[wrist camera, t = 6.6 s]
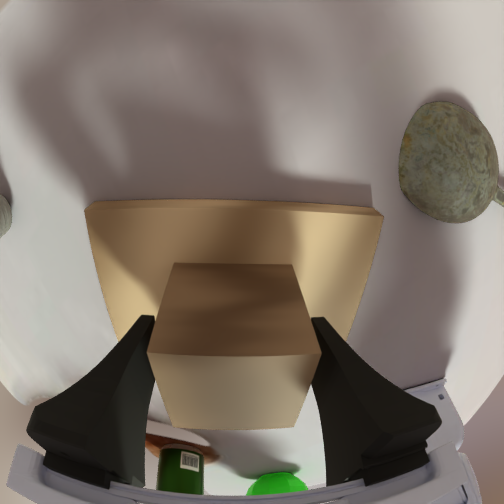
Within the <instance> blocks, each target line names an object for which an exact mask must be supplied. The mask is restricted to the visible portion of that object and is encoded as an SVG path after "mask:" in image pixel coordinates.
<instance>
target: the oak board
mask: <svg viewBox="0 0 504 504" xmlns="http://www.w3.org/2000/svg"><path fill="white" fill-rule="evenodd" d="M84 212H85V218H86V223H87V229H88V234H89V239H90V244H91V248H92V253H93V257H94V262H95V266H96V270H97V274H98V278H99V281H100V285H101V289H102V292H103V296H104V299H105V303H106V306H107V309H108V312H109V316H110V319H111V322H112V325H113V328H114V331H115V333H116V336H117V339H118V342H119V341H120V340H121V339H122V338H123V336H124V335H125V334H126V333H127V332H128V330H129V329H130V328H131V327H132V325H133V324H134V323H135V322H136V320H137V319H138V318H139V317H140V316H141V315H154V317H155V321H156V318H157V314H158V311H159V308H160V304H161V301H162V298H163V295H164V291H165V288H166V285H167V282H168V279H169V276H170V273H171V270H172V267H173V264H174V262H176V263H226V264H292V266H293V269H294V271H295V274H296V277H297V280H298V283H299V286H300V289H301V292H302V295H303V298H304V301H305V304H306V307H307V310H308V313H309V316H310V319H311V317H325V318H326V320H327V321H328V322H329V323H330V324H331V325H332V327H333V328H334V329H335V330H336V331H337V333H338V334H339V335H340V336H341V337H342V338H343V339H344V341H345V342H346V340H347V337H348V334H349V332H350V329H351V326H352V324H353V321H354V318H355V315H356V312H357V309H358V306H359V303H360V300H361V297H362V294H363V291H364V288H365V285H366V282H367V278H368V275H369V272H370V268H371V265H372V261H373V258H374V254H375V251H376V247H377V243H378V239H379V235H380V231H381V227H382V223H383V219H384V216H383V215H381V214H380V213H379V212H378V211H377V210H375V209H374V208H369V207H358V206H346V205H332V204H317V203H300V202H281V201H255V200H212V199H161V200H119V201H95V202H94V203H92V204H91V205H90V206H89V207H87V208H86V209H85V210H84Z"/></svg>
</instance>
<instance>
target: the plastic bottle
mask: <svg viewBox="0 0 504 504" xmlns="http://www.w3.org/2000/svg"><path fill="white" fill-rule="evenodd" d="M304 490H308V488H307V486H306V485H305V483H304V482H302V481H301V480H300V479H299V478H297V477H295V476H293V475H292V474H291V473H287V472H279V473H270V474H266V475H262V476H261V477H259V479H258V480H257V481H256V482H255V483H254V484H252V485H251V487H250V488H249V489H248V492H247V494H246V496H249V495H268V494H280V493H289V492H297V491H304Z"/></svg>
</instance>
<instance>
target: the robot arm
mask: <svg viewBox="0 0 504 504" xmlns="http://www.w3.org/2000/svg"><path fill="white" fill-rule="evenodd" d="M311 322H312V325H313V328H314V331H315V334H316V337H317V340H318V344H319V347H320V350H321V353H322V354H321V357H320V360H319V362H318V365H317V368H316V371H315V374H314V377H313V379H312V382H311V385H312V388H313V391H314V395H315V398H316V402H317V405H318V409H319V414H320V420H321V426H322V433H323V441H324V451H325V462H326V487H323V488H317V489H311V490H304V491H297V492H289V493H280V494H268V495H249V496H214V495H195V494H183V493H174V492H166V491H159V490H152V489H147V488H143V487H144V486H145V464H144V463H145V437H146V424H147V415H148V409H149V404H150V399H151V395H152V391H153V387H154V383H155V377H154V374H153V371H152V368H151V365H150V362H149V358H148V355H147V349H148V346H149V342H150V338H151V335H152V331H153V328H154V324H155V317H154V315H141V316H140V317H139V318H138V319H137V320H136V322H135V323H134V324H133V325H132V327H131V328H130V329H129V330H128V332H127V333H126V334H125V335H124V336H123V338H122V339H121V340H120V341H119V342H118V343H117V345H116V346H115V347H114V348H113V349H112V350H111V351H110V352H109V353H108V354H107V356H106V357H105V358H104V359H103V360H102V361H101V362H100V363H99V364H98V365H97V366H96V367H95V368H93V369H92V370H91V371H90V372H89V373H88V374H87V375H85V376H84V377H83V378H82V379H80V380H79V381H78V382H76V383H75V384H74V385H72V386H71V387H69V388H68V389H66V390H65V391H63V392H62V393H60V394H58V395H57V396H55V397H53V398H51V399H49V400H48V401H46V402H44V403H41V404H39V405H38V406H35V408H34V411H33V413H32V415H31V418H30V421H29V423H28V426H27V430H26V431H27V433H28V435H29V436H30V437H31V438H32V439H33V440H34V441H36V443H38V444H39V445H40V446H41V447H43V448H44V449H45V450H46V454H45V456H43V455H42V454H40V453H39V452H37V451H35V450H32V449H30V448H28V447H26V446H24V445H22V444H20V443H19V444H18V445H17V449H16V451H15V455H14V458H13V461H12V465H11V468H10V472H9V476H8V480H7V487H9V488H11V489H12V490H14V491H16V492H17V493H19V494H21V495H22V496H24V497H26V498H28V499H30V500H31V501H33V502H35V503H37V504H139V503H143V504H320V503H325V502H329V503H325V504H482V499H481V495H480V490H479V486H478V482H477V479H476V477H475V474H474V471H473V469H472V466H471V464H470V462H469V459H468V458H467V456H466V454H465V453H460V452H457V450H458V449H459V448H460V446H461V444H462V442H463V439H464V426H463V423H462V420H461V418H460V416H459V414H458V412H457V410H456V408H455V406H454V404H453V402H452V400H451V399H450V397H449V395H448V393H447V391H446V389H445V387H444V385H445V383H446V382H447V380H446V379H441V380H438V381H435V382H432V383H428V384H425V385H422V386H418V387H414V388H411V389H407V390H402V389H400V388H399V387H397V386H395V385H394V384H393V383H391V382H390V381H388V380H387V379H385V378H384V377H383V376H381V375H380V374H379V373H378V372H376V371H375V370H374V369H373V368H371V367H370V366H369V365H368V364H367V363H366V362H365V361H364V360H363V359H362V358H361V357H360V356H359V355H358V354H357V353H356V352H355V351H354V350H353V349H352V348H351V347H350V346H349V345H348V344H347V343H346V342H345V341H344V339H343V338H342V337H341V336H340V335H339V334H338V333H337V331H336V330H335V329H334V328H333V327H332V325H331V324H330V323H329V322H328V321H327V320H326V318H325V317H311ZM335 500H336V501H335ZM330 501H333V502H330ZM137 502H138V503H137Z"/></svg>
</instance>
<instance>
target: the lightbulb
mask: <svg viewBox="0 0 504 504" xmlns="http://www.w3.org/2000/svg"><path fill="white" fill-rule="evenodd" d="M11 223H12V212H11V208H10V205H9V203H8V202H7V200H6V199H5V198H4V197H3V196H2V195H0V238H1V237H2V236H3V235H4V234H5V233H6V232H7V231H8V230H9V229H10V227H11Z"/></svg>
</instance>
